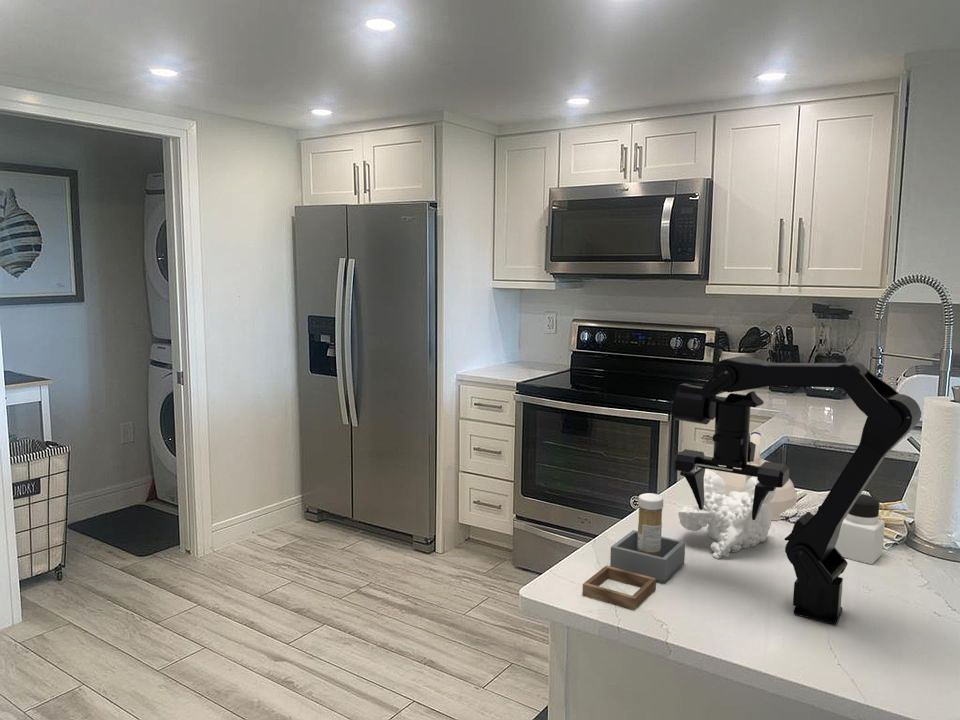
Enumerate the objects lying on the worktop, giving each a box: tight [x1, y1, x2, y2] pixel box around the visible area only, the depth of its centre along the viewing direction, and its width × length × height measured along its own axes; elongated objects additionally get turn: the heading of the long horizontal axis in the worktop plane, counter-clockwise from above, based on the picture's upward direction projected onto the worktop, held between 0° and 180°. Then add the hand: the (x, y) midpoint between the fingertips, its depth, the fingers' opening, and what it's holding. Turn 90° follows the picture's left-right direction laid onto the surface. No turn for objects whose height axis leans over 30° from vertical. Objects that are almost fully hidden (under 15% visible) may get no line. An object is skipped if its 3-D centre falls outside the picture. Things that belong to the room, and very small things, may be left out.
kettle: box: [715, 431, 798, 522], centre depth 171 cm, size 20×21×18 cm
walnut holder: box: [581, 565, 657, 611], centre depth 126 cm, size 10×10×2 cm
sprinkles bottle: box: [637, 492, 664, 557], centre depth 136 cm, size 5×5×13 cm
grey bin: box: [609, 529, 686, 585], centre depth 137 cm, size 11×11×4 cm
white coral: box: [677, 469, 776, 560], centre depth 149 cm, size 19×20×20 cm
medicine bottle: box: [835, 493, 886, 565], centre depth 143 cm, size 7×7×12 cm
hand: (727, 514), depth 128 cm, fingers open, 9 cm apart
